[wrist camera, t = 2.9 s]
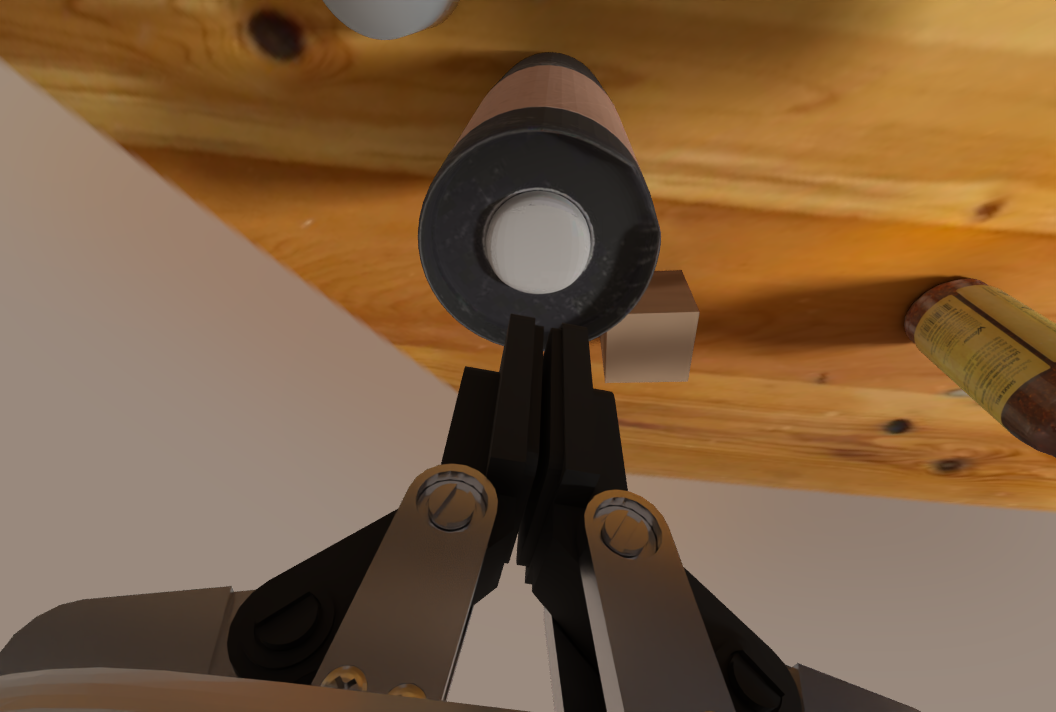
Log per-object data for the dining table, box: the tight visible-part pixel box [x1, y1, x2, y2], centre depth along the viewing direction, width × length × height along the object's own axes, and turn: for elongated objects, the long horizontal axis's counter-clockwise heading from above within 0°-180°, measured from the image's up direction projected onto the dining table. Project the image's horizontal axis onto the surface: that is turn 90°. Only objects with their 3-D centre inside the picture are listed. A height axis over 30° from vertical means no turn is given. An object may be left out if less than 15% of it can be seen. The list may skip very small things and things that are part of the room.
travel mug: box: [418, 52, 661, 351], centre depth 23 cm, size 8×8×20 cm
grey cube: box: [600, 270, 699, 383], centre depth 36 cm, size 6×6×6 cm
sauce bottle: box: [904, 278, 1056, 458], centre depth 30 cm, size 7×6×20 cm
